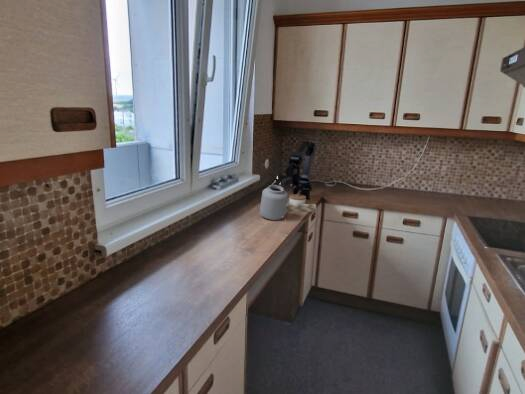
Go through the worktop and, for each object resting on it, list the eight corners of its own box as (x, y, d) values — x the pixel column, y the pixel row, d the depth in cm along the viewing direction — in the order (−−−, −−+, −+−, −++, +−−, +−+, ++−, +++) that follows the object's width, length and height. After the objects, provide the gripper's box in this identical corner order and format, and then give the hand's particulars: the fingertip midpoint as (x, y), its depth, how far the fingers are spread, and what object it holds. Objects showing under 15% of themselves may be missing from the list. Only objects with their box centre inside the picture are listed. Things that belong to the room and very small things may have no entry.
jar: (293, 221, 199) (295, 178, 193) (269, 224, 193) (271, 179, 187) (277, 212, 216) (279, 172, 209) (255, 214, 209) (256, 173, 203)
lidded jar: (307, 207, 230) (308, 193, 227) (302, 211, 220) (303, 196, 218) (291, 204, 234) (292, 191, 231) (286, 208, 224) (286, 194, 222)
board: (314, 210, 224) (314, 204, 223) (315, 211, 221) (316, 205, 220) (283, 210, 220) (283, 204, 219) (284, 211, 217) (284, 205, 216)
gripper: (280, 171, 237) (279, 194, 241) (286, 177, 219) (285, 201, 223) (296, 171, 239) (295, 193, 243) (304, 177, 221) (302, 201, 225)
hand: (294, 197), depth 233 cm, fingers closed
